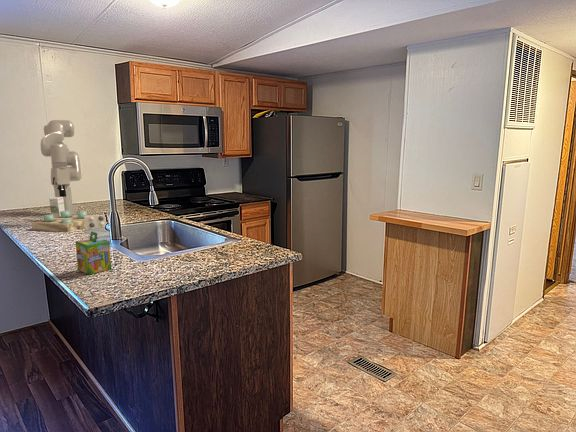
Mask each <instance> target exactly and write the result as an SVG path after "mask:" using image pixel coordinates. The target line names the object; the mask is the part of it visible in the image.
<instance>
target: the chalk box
mask: <svg viewBox="0 0 576 432" xmlns="http://www.w3.org/2000/svg"><path fill="white" fill-rule="evenodd" d="M89 236H90V237H89V239H83V240H77V241H75V251H76V252H75V253H76V263H77V271H79V272H82V273H83V274H86V275H87V276H91V275H95V274H97V273H103V272H106V271H109V270H110V271H111V270H112V260H111V258H112V257H111V246H110V241H109V240H107V239H104V238H102V237H98V232H95V231H90V235H89ZM93 236H94V238H93Z"/></svg>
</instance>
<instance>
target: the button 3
mask: <svg viewBox="0 0 576 432" xmlns="http://www.w3.org/2000/svg"><path fill="white" fill-rule="evenodd" d="M61 221H62V223H71V219H64V220H61Z"/></svg>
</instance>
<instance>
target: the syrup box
mask: <svg viewBox="0 0 576 432" xmlns="http://www.w3.org/2000/svg"><path fill="white" fill-rule="evenodd" d="M48 199H49V208H50V214H53V217H59V216H61V214H60V212H61V211H65V209H64V200H63V197H55V196H52V197H49V198H48Z"/></svg>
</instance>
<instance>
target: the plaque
mask: <svg viewBox="0 0 576 432" xmlns="http://www.w3.org/2000/svg"><path fill="white" fill-rule="evenodd" d="M105 215H106V214H96V215H87V216H84V220H85V227H84V228H85V230H87V229H98V228H99V229H100V228H106V227H105V225H106V224H107V222H106V217H105Z"/></svg>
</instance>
